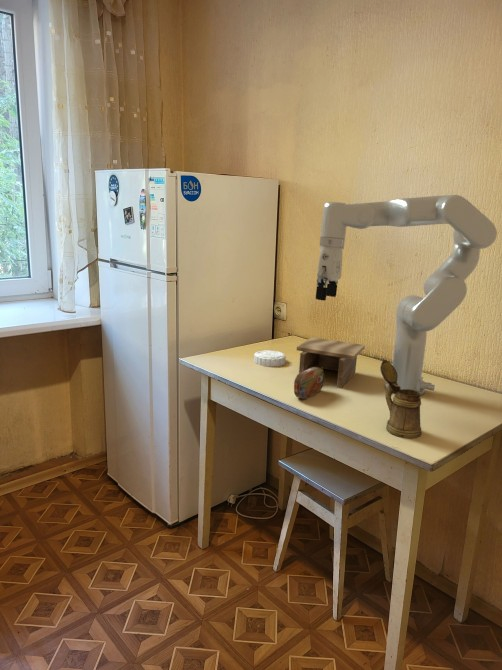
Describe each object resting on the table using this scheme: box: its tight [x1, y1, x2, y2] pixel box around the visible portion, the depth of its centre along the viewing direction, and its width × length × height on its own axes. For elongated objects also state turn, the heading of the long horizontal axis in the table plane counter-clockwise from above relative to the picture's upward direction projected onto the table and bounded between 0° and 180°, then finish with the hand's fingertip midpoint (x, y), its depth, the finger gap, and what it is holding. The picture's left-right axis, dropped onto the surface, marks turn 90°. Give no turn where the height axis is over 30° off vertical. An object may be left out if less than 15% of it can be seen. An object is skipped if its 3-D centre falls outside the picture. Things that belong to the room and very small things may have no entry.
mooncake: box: [253, 349, 287, 368], centre depth 195 cm, size 12×12×4 cm
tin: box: [293, 367, 325, 400], centre depth 161 cm, size 15×3×8 cm, turn 143°
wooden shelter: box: [296, 336, 366, 389], centre depth 180 cm, size 20×20×11 cm
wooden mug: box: [379, 359, 422, 439], centre depth 137 cm, size 9×14×18 cm, turn 40°
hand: (325, 298), depth 162 cm, fingers open, 9 cm apart
